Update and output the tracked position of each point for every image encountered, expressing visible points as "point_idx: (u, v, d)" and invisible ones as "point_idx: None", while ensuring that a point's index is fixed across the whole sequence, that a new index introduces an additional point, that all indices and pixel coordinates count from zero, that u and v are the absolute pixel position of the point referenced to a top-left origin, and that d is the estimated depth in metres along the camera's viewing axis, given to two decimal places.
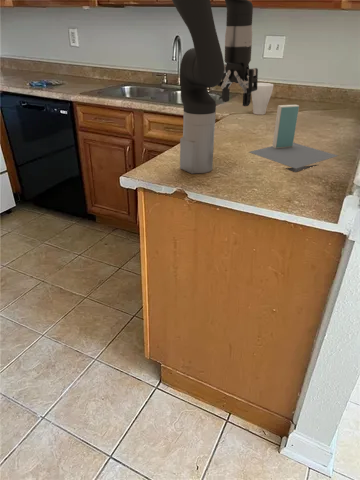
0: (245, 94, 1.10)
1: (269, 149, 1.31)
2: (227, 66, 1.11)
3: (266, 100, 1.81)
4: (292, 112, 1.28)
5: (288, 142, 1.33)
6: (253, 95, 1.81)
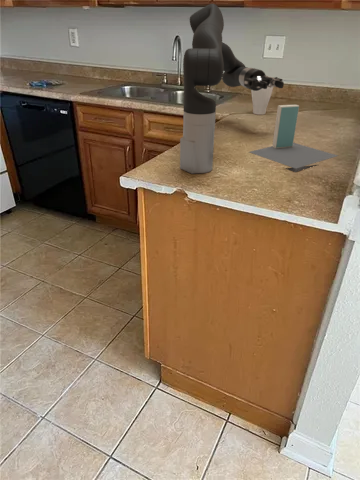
0: None
1: (269, 149, 1.31)
2: (252, 78, 1.41)
3: (266, 100, 1.81)
4: (292, 112, 1.28)
5: (288, 142, 1.33)
6: (253, 95, 1.81)
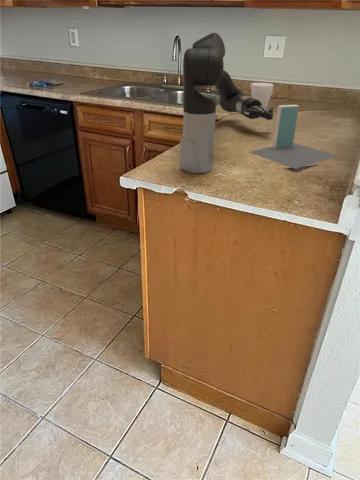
0: None
1: (269, 149, 1.31)
2: (248, 107, 1.46)
3: (266, 100, 1.81)
4: (292, 112, 1.28)
5: (288, 142, 1.33)
6: (253, 95, 1.81)
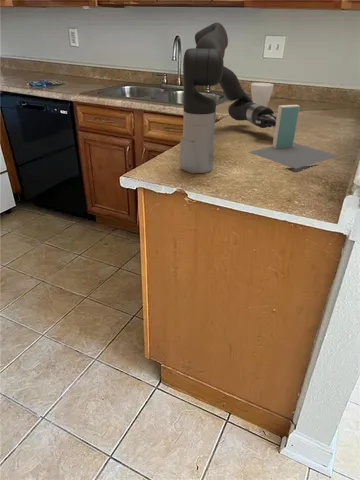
0: None
1: (269, 149, 1.31)
2: (259, 116, 1.39)
3: (266, 100, 1.81)
4: (292, 112, 1.27)
5: (288, 142, 1.33)
6: (253, 95, 1.81)
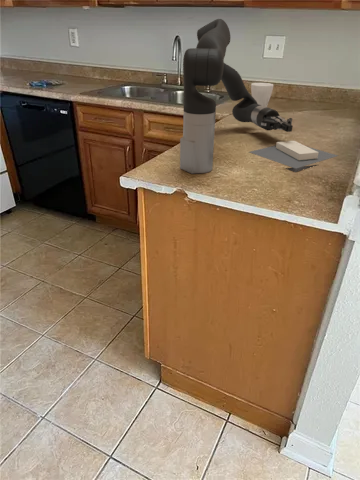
0: None
1: (269, 149, 1.31)
2: (265, 118, 1.36)
3: (266, 100, 1.81)
4: None
5: None
6: (253, 95, 1.81)
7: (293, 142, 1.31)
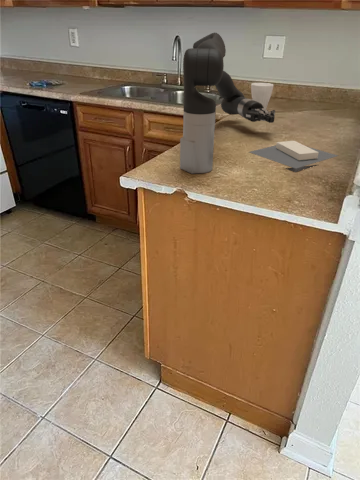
0: None
1: (269, 149, 1.31)
2: (249, 110, 1.46)
3: (266, 100, 1.81)
4: None
5: None
6: (253, 95, 1.81)
7: (293, 142, 1.31)
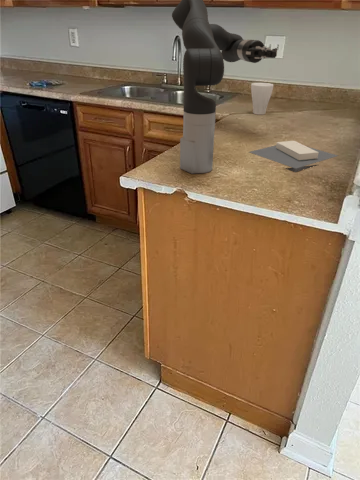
0: None
1: (269, 149, 1.31)
2: (250, 48, 1.36)
3: (266, 100, 1.81)
4: None
5: None
6: (253, 95, 1.81)
7: (293, 142, 1.31)
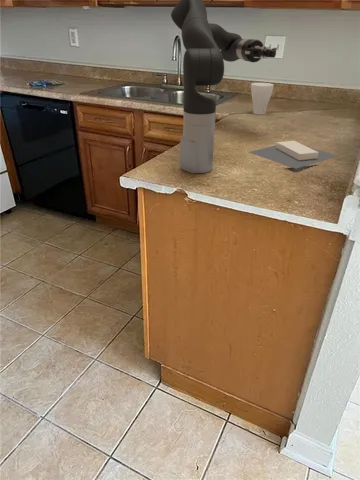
0: None
1: (269, 149, 1.31)
2: (249, 48, 1.36)
3: (266, 100, 1.81)
4: None
5: None
6: (253, 95, 1.81)
7: (293, 142, 1.31)
